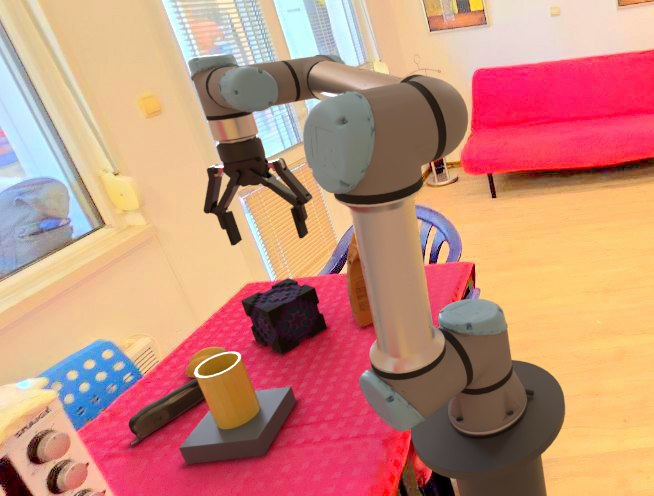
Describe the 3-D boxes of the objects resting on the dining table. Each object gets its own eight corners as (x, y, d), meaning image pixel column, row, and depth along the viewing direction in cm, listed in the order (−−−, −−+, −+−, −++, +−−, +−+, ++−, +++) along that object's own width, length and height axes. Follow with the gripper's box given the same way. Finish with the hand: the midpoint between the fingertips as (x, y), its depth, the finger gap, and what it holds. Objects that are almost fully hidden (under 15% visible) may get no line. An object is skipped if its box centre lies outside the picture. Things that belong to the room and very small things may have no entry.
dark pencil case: (194, 375, 112) (115, 423, 99) (203, 377, 111) (124, 427, 98) (202, 393, 114) (125, 443, 101) (211, 396, 113) (134, 447, 100)
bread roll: (184, 384, 117) (177, 370, 116) (194, 361, 125) (188, 348, 124) (225, 373, 120) (220, 358, 118) (233, 351, 128) (228, 338, 126)
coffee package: (389, 297, 146) (372, 226, 138) (396, 318, 136) (378, 242, 127) (352, 308, 142) (332, 235, 134) (356, 331, 132) (334, 253, 124)
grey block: (296, 401, 109) (291, 386, 107) (264, 455, 96) (257, 438, 94) (228, 409, 108) (221, 394, 107) (186, 464, 95) (178, 448, 94)
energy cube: (282, 354, 125) (267, 312, 120) (255, 341, 131) (240, 300, 127) (327, 328, 134) (314, 287, 130) (300, 317, 140) (287, 278, 136)
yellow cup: (267, 399, 104) (248, 349, 100) (248, 426, 97) (227, 375, 93) (229, 403, 104) (209, 354, 100) (208, 431, 97) (185, 379, 93)
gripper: (311, 127, 103) (338, 225, 111) (183, 140, 102) (218, 238, 110) (295, 136, 96) (324, 240, 104) (157, 150, 95) (197, 253, 103)
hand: (270, 239), depth 107 cm, fingers open, 13 cm apart
